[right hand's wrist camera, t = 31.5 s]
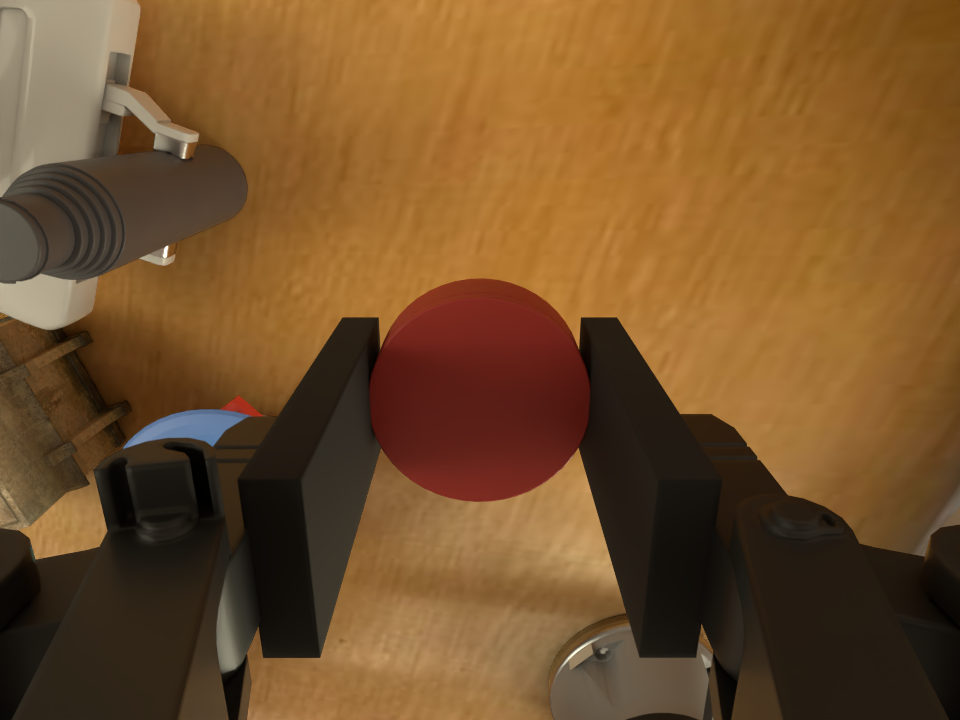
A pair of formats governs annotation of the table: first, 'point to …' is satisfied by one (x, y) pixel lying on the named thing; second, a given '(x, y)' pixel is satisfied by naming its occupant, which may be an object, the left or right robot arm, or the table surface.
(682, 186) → the table surface
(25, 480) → the miniature house
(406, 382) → the cap
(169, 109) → the table surface
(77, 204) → the bottle
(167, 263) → the left robot arm
